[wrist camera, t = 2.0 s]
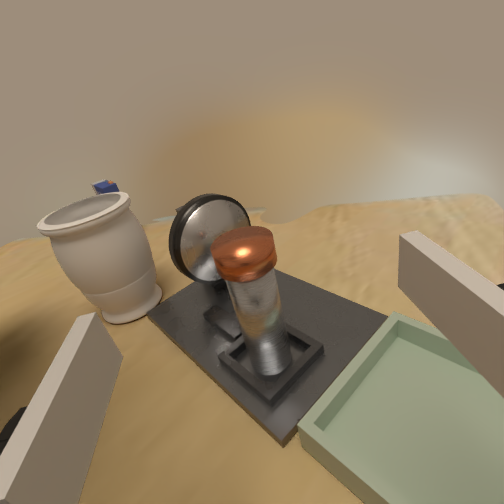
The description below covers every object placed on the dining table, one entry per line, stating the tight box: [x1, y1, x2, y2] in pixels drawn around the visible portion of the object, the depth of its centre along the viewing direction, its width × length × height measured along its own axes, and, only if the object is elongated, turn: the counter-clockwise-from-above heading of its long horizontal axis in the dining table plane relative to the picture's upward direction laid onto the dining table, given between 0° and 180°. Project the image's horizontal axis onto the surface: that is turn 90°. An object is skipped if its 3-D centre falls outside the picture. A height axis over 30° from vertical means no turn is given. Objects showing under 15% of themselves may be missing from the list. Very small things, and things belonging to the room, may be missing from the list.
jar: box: [37, 192, 162, 324], centre depth 40 cm, size 11×10×15 cm
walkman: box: [91, 180, 119, 195], centre depth 64 cm, size 8×3×12 cm, turn 42°
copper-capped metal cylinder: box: [210, 226, 292, 375], centre depth 26 cm, size 5×5×13 cm
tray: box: [297, 311, 504, 504], centre depth 21 cm, size 14×14×3 cm
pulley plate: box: [146, 194, 388, 448], centre depth 32 cm, size 24×16×14 cm, turn 43°
